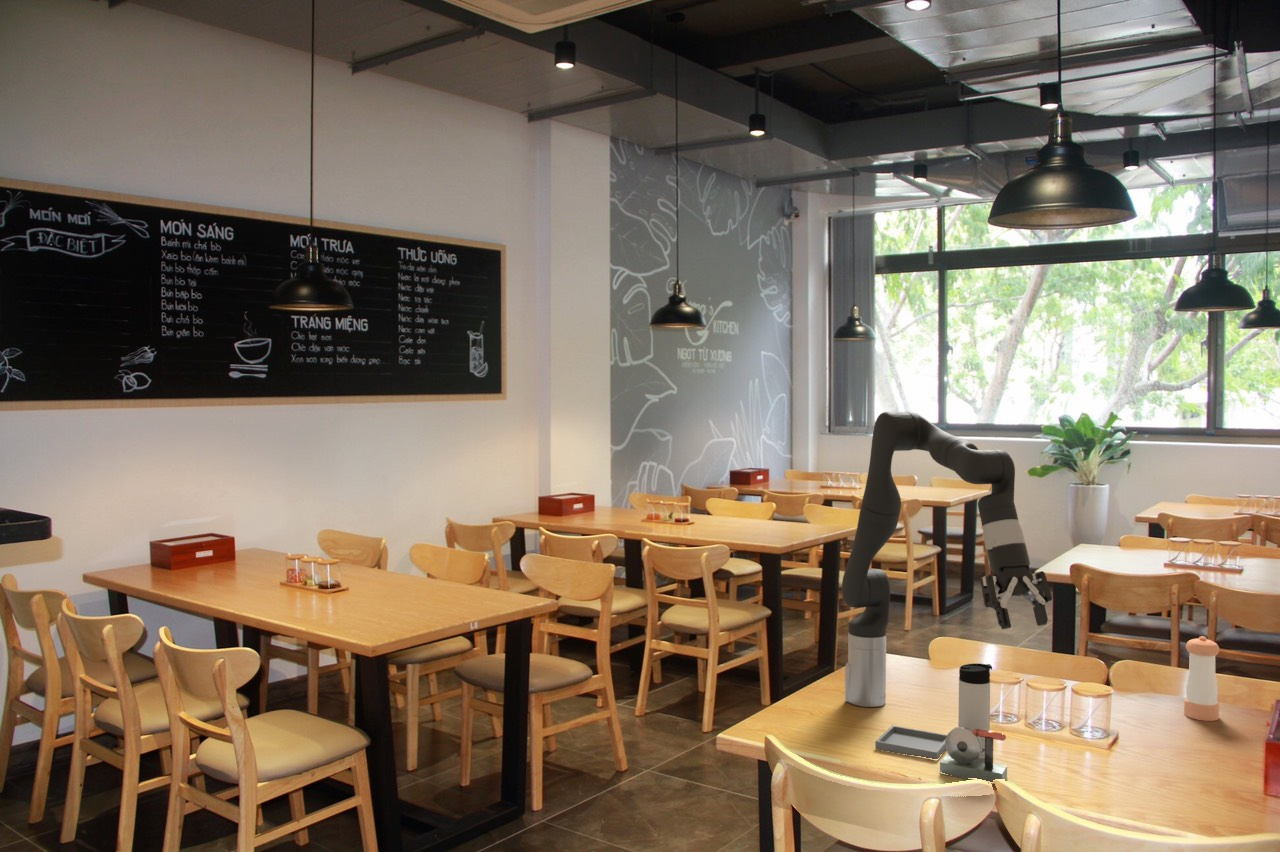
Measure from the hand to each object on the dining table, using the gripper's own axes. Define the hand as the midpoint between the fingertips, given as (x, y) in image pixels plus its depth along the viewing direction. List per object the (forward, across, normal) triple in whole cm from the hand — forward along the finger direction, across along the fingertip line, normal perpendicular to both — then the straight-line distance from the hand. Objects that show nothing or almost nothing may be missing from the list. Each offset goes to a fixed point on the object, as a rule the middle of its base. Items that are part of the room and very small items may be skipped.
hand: (1024, 626), depth 195 cm
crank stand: (+27, +6, -18) cm, 33 cm away
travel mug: (+24, -1, -26) cm, 35 cm away
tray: (+20, +7, -35) cm, 41 cm away
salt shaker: (+22, -70, -32) cm, 80 cm away
